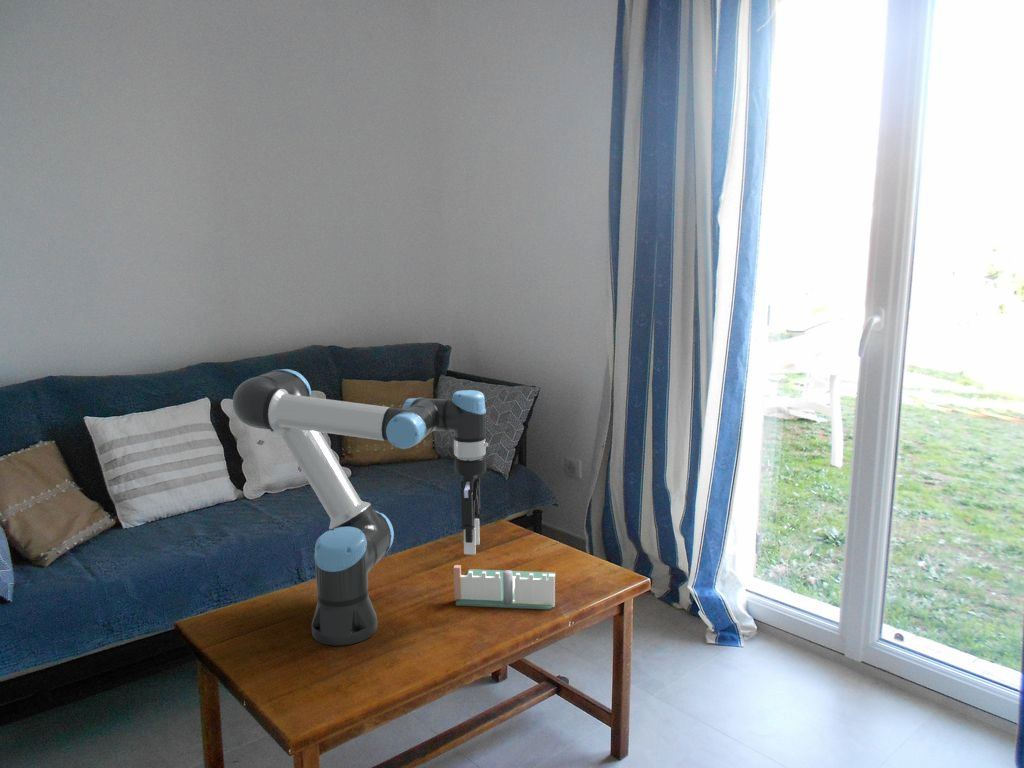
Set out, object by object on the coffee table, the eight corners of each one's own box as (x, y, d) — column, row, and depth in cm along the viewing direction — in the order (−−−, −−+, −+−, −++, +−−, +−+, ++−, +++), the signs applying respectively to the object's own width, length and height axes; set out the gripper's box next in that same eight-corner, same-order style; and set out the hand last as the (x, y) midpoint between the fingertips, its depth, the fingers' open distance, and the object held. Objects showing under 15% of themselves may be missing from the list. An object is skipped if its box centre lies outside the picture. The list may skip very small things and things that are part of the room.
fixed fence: (502, 605, 188) (502, 574, 186) (503, 601, 190) (503, 569, 188) (554, 608, 186) (554, 576, 185) (554, 603, 188) (554, 572, 187)
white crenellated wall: (454, 599, 189) (453, 567, 188) (455, 596, 191) (454, 565, 189) (500, 601, 188) (500, 569, 186) (501, 598, 189) (501, 566, 188)
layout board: (455, 605, 188) (455, 602, 188) (469, 571, 208) (469, 568, 207) (551, 609, 185) (551, 606, 185) (555, 574, 205) (555, 572, 205)
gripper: (479, 467, 167) (481, 565, 172) (491, 446, 185) (492, 534, 190) (446, 467, 168) (449, 564, 172) (461, 445, 186) (463, 533, 190)
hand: (471, 548), depth 181 cm, fingers open, 5 cm apart
